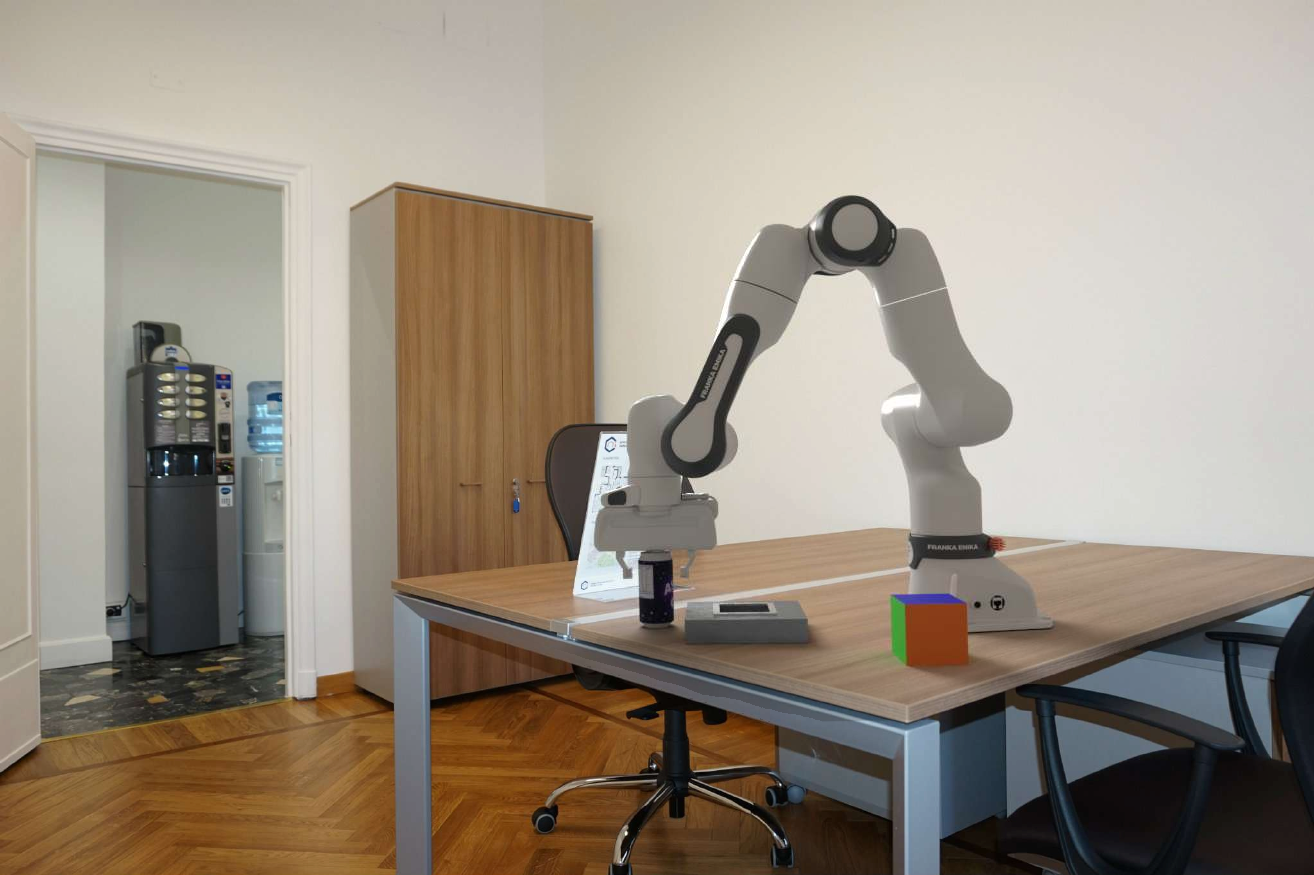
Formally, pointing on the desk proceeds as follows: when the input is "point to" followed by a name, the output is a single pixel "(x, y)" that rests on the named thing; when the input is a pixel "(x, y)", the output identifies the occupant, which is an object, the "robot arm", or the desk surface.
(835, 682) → the desk surface
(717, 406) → the robot arm
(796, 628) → the housing
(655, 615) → the beverage can
